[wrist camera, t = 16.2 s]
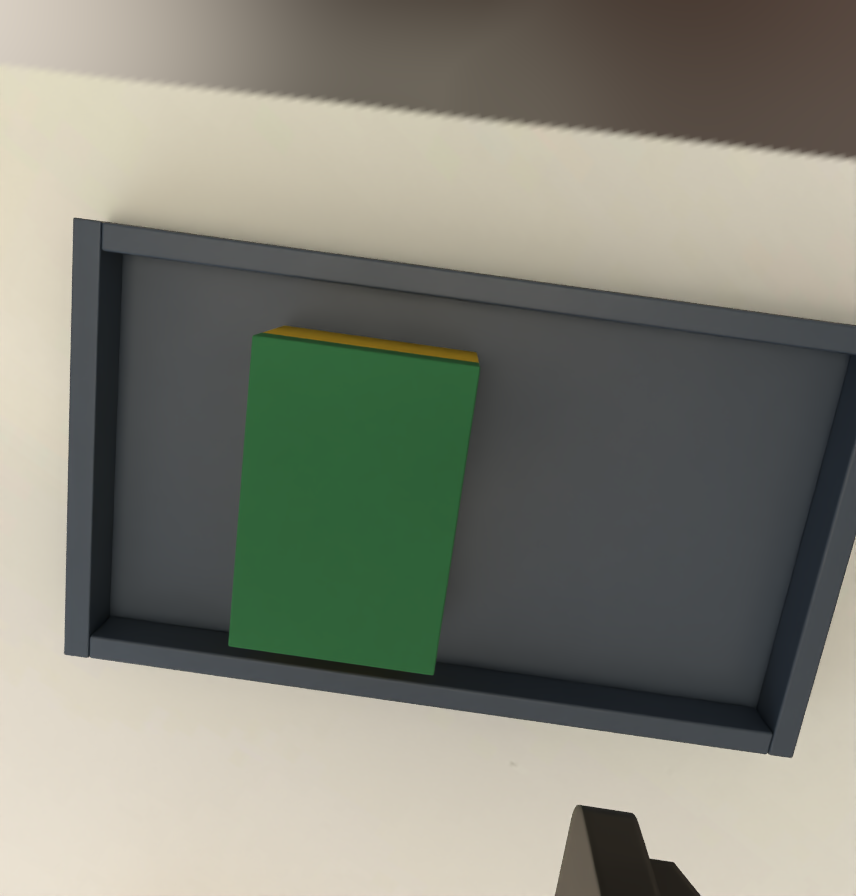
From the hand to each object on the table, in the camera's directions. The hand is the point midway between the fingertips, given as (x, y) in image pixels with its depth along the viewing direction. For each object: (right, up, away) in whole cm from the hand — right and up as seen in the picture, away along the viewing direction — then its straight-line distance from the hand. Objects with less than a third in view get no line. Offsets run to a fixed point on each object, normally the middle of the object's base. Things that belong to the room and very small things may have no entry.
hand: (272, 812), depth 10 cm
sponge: (0, +4, +14) cm, 14 cm away
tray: (+3, +4, +14) cm, 15 cm away
